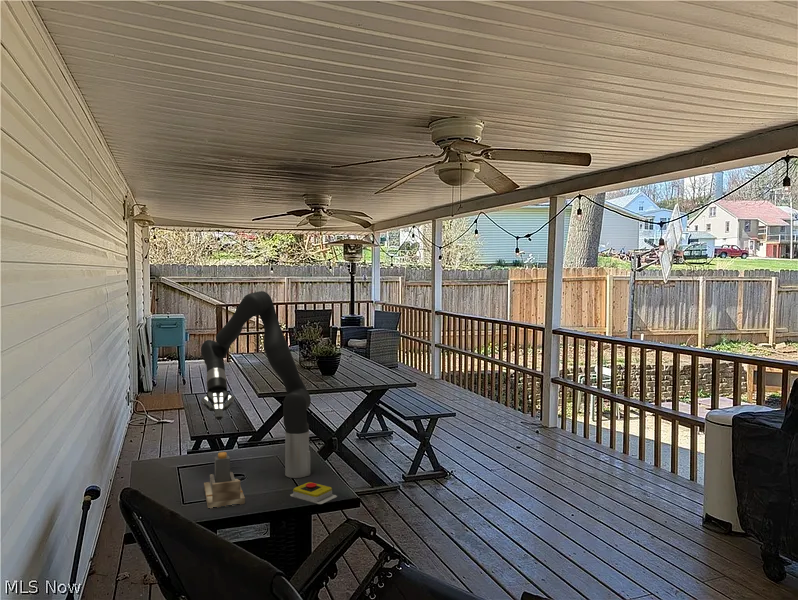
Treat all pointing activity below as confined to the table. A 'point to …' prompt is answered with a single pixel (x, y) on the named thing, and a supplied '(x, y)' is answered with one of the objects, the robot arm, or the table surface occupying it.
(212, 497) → the track
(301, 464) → the robot arm
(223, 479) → the orange-capped grey pillar
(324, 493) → the emergency button
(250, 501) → the table surface
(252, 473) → the table surface
